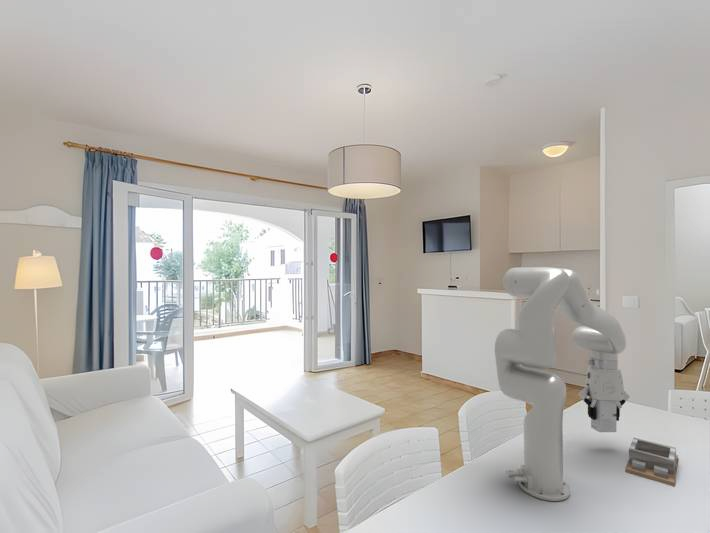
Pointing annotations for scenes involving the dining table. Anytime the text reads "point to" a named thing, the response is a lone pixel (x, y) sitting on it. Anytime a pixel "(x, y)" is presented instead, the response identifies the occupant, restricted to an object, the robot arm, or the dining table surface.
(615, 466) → the dining table surface
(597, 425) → the skincare box
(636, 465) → the socket board
